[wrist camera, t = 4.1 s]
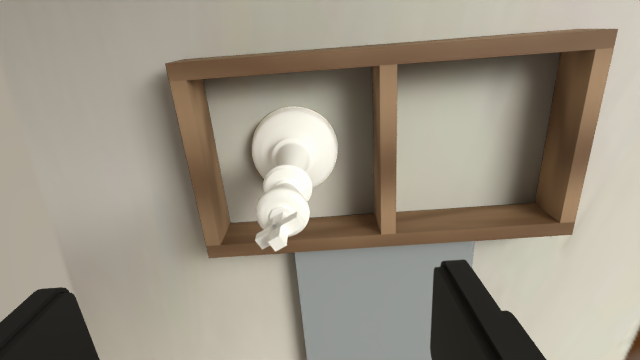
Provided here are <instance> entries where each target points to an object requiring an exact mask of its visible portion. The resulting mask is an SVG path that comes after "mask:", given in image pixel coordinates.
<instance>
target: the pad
mask: <svg viewBox="0 0 640 360" xmlns="http://www.w3.org/2000/svg"><path fill="white" fill-rule="evenodd" d="M474 242H475V241H466V242H450V243H435V244H419V245H404V246H388V247H373V248H357V249H342V250H326V251H311V252H295V261H296V270H297V278H298V287H299V295H300V304H301V313H302V321H303V330H304V338H305V347H306V355H307V360H432V358H431V353H430V337H431V316H432V295H433V273H434V268H435V267H440V265H441V262H442V261H448V260H463V259H464V260H466V261H467V262H468V263H469V265H470V266H471V268H472V261H473V252H474Z"/></svg>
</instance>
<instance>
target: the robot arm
mask: <svg viewBox="0 0 640 360" xmlns="http://www.w3.org/2000/svg"><path fill="white" fill-rule="evenodd" d="M430 353H431V358H432V360H546V359H545V357H544V356H543V355H542V353H541V352H540V350H539V349H538V348H537V346H536V345H535V344H534V342H533V341H532V339H531V338H530V337H529V335H528V334H527V333H526V331H525V330H524V328H523V327H522V326H521V324H520V323H519V322H518V320H517V319H516V318H515V316H514V315H513V314H512V313H510V312H509V311H501V310H500V308H499V307H498V305H497V304H496V302H495V301H494V299H493V298H492V297H491V295H490V294H489V292H488V291H487V289H486V288H485V286H484V285H483V284H482V282H481V281H480V279H479V278H478V276H477V275H476V273H475V272H474V271H473V269H472V268H471V266H470V265H469V263H468V262H467V261H466V260H464V259H463V260H448V261H442V262H441V265H440V267H435V268H434V273H433V295H432V316H431V337H430ZM0 360H99V357H98V355H97V352H96V350H95V347H94V344H93V342H92V339H91V336H90V334H89V331H88V329H87V326H86V323H85V321H84V318H83V316H82V313H81V310H80V308H79V305H78V303H77V300H76V297H75V296H74V294H72V293H70V292H69V291H68V290H67V289H66V288H48V289H40V290H37V291H36V292H34V293H33V294H32V295H30V296H29V297H28V298H27V299H26V300H25V301H24V302H23V303H22V304H21V305H20V306H18V307H17V308H16V309H15V310H14V311H13V312H12V313H11V314H9V315H8V316H7V317H6V318H5V319H4V320H3V321H1V322H0Z"/></svg>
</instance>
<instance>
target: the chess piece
mask: <svg viewBox="0 0 640 360" xmlns="http://www.w3.org/2000/svg"><path fill="white" fill-rule="evenodd" d="M337 155H338V142H337V137H336V134H335V132H334V130H333V128H332V127H331V125H330V124H329V122H328V121H327V120H326V119H325V118H324V117H323V116H321V115H320V114H318V113H317V112H315V111H313V110H311V109H308V108H304V107H298V106H291V107H284V108H280V109H277V110H275V111H273V112H271V113H270V114H268V115H267V116H266V117H265V118H264V119H263V120H262V121H261V122H260V123H259V125H258V126H257V128H256V130H255V133H254V135H253V140H252V158H253V162H254V164H255V167H256V169H257V170H258V172H259V173H260V175H261V176H262V177H263V178H264V182H263V191H264V195H263V196H262V197H261V198H260V200H259V201H258V204H257V207H256V218H257V221H258V223H259V224H260V226H261V227H262V228H263V229H264V230H263V231H261V232H259V233H257V235H256V238H255V241H256V242H257V244H258V245H259V246H260V247H261V249H264V248H266V247H268V246H271V247H272V248H273V249H274V251H275V252H276V251H278V250H280V249H281V248H283V247H285V246H287V239H288V237H290V236H293V235H296V234H298V233H299V232H301V231H302V230H303V229H304V228H305V226H306V225H307V223H308V221H309V217H310V210H309V206H308V203H307V201H308V200H309V198H310V196H311V194H312V188H314V187H316V186H318V185H319V184H321V183H322V182H323V181H324V180H325V179H326V178H327V177H328V176H329V175H330V173H331V172H332V170H333V168H334V166H335V163H336V160H337Z"/></svg>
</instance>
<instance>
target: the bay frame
mask: <svg viewBox="0 0 640 360" xmlns="http://www.w3.org/2000/svg"><path fill="white" fill-rule="evenodd" d="M617 31H618V29H573V30H560V31H547V32H534V33H521V34H508V35H495V36H482V37H469V38H456V39H443V40H430V41H417V42H404V43H391V44H378V45H365V46H352V47H339V48H326V49H313V50H301V51H288V52H275V53H262V54H249V55H236V56H223V57H210V58H197V59H184V60H179V61H175V62H170V63H166V64H165V65H166V69H167V74H168V78H169V83H170V87H171V92H172V96H173V101H174V105H175V109H176V114H177V118H178V123H179V127H180V132H181V136H182V141H183V145H184V149H185V154H186V158H187V163H188V167H189V172H190V176H191V181H192V185H193V189H194V194H195V198H196V203H197V207H198V212H199V216H200V221H201V225H202V229H203V234H204V238H205V243H206V247H207V252H208V256H209V258H218V257H233V256H249V255H264V254H280V253H295V252H311V251H326V250H342V249H357V248H373V247H388V246H404V245H419V244H435V243H450V242H466V241H481V240H497V239H512V238H527V237H543V236H558V235H572V233H573V228H574V224H575V219H576V215H577V210H578V206H579V201H580V197H581V192H582V188H583V183H584V179H585V174H586V170H587V165H588V161H589V157H590V152H591V148H592V143H593V139H594V134H595V130H596V125H597V121H598V116H599V112H600V107H601V103H602V98H603V94H604V89H605V85H606V80H607V76H608V72H609V67H610V63H611V58H612V54H613V49H614V45H615V40H616V36H617ZM554 52H561V54H560V60H559V66H558V72H557V77H556V83H555V89H554V95H553V101H552V106H551V112H550V118H549V124H548V130H547V136H546V141H545V147H544V153H543V159H542V165H541V171H540V176H539V182H538V188H537V194H536V200H535V203H526V204H511V205H496V206H481V207H466V208H451V209H436V210H421V211H406V212H396V145H397V64H409V63H422V62H435V61H448V60H461V59H475V58H488V57H501V56H514V55H527V54H541V53H554ZM369 66H372V77H373V138H374V199H375V214H361V215H346V216H331V217H316V218H309V221H308V223H307V225H306V226H305V228H304V229H303V230H302V231H301V232H299V233H298V234H296V235H293V236H290V237H288V239H287V246H285V247H283V248H281V249H280V250H278V251H276V252H275V251H274V249H273V248H272V247H271V246H268V247H266V248H264V249H261V247H260V246H259V245H258V244H257V242H256V241H255V238H256V235H257V233H259V232H261V231H263V230H264V229H263V228H262V227H261V226H260V224H259V223H258V221H256V222H241V223H230V219H229V214H228V208H227V203H226V198H225V193H224V187H223V182H222V177H221V172H220V166H219V161H218V156H217V151H216V145H215V140H214V135H213V129H212V124H211V119H210V114H209V108H208V103H207V98H206V93H205V87H204V82H203V79H210V78H223V77H237V76H250V75H263V74H276V73H290V72H303V71H316V70H329V69H342V68H356V67H369Z"/></svg>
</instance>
